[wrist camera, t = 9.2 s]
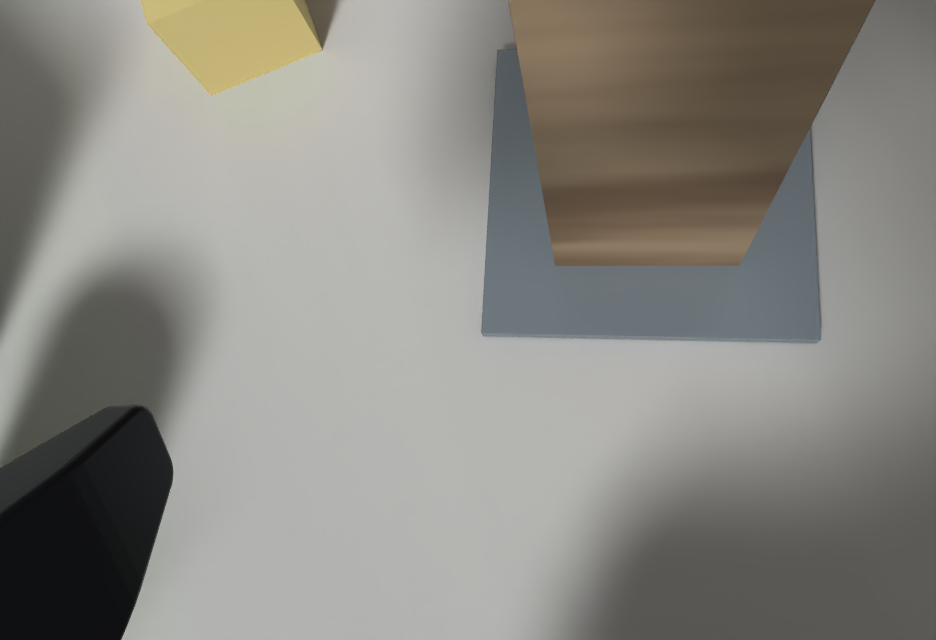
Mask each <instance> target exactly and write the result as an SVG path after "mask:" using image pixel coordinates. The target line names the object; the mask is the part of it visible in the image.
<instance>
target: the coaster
mask: <svg viewBox="0 0 936 640" xmlns="http://www.w3.org/2000/svg"><path fill="white" fill-rule="evenodd" d="M481 333H482V335H483V336H495V337H543V338H591V339H639V340H687V341H734V342H782V343H818V342H819V341H820V340H821V332H820V312H819V293H818V273H817V254H816V234H815V214H814V195H813V175H812V156H811V136H810V129H809V131H808V133H807V135H806V137H805V139H804V141H803V143H802V145H801V146H800V148H799V150H798V152H797V154H796V156H795V158H794V160H793V162H792V164H791V166H790V168H789V170H788V172H787V174H786V176H785V178H784V180H783V182H782V184H781V186H780V188H779V189H778V191H777V193H776V195H775V197H774V199H773V201H772V203H771V205H770V207H769V209H768V211H767V213H766V215H765V217H764V219H763V221H762V223H761V225H760V227H759V229H758V230H757V232H756V234H755V236H754V238H753V240H752V242H751V244H750V246H749V248H748V250H747V252H746V254H745V256H744V258H743V260H742V262H741V264H740V266H555V262H554V256H553V251H552V245H551V239H550V234H549V228H548V222H547V217H546V211H545V205H544V200H543V194H542V188H541V183H540V177H539V171H538V165H537V160H536V154H535V148H534V143H533V137H532V131H531V126H530V120H529V114H528V109H527V103H526V97H525V92H524V86H523V80H522V75H521V69H520V63H519V58H518V52H517V49H511V50H497V67H496V85H495V102H494V120H493V137H492V155H491V172H490V190H489V207H488V225H487V242H486V260H485V277H484V295H483V312H482V330H481Z"/></svg>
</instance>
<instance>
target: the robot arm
mask: <svg viewBox="0 0 936 640" xmlns="http://www.w3.org/2000/svg"><path fill="white" fill-rule="evenodd" d="M172 481H173V465H172V461H171V458H170V455H169V453H168V451H167V448H166V446H165V443H164V441H163V439H162V436H161V434H160V432H159V429H158V427H157V424H156V422H155V420H154V417H153V415H152V413H151V412H150V411H149V410H148V408H146V407H145V406H142V405H139V404H137V405H122V406H111V407H107V408H104V409H102V410H101V411H99V412H97V413H95V414H94V415H92V416H90V417H89V418H87V419H85V420H83V421H82V422H80V423H78V424H76V425H75V426H73V427H71V428H69V429H68V430H66V431H64V432H62V433H61V434H59V435H57V436H55V437H54V438H52V439H50V440H49V441H47V442H45V443H43V444H42V445H40V446H38V447H36V448H35V449H33V450H31V451H29V452H28V453H26V454H24V455H22V456H21V457H19V458H17V459H15V460H14V461H12V462H10V463H9V464H7V465H5V466H3V467H2V468H0V640H121V639H122V637H123V634H124V632H125V630H126V627H127V625H128V622H129V620H130V617H131V614H132V612H133V609H134V607H135V604H136V601H137V598H138V595H139V592H140V589H141V586H142V583H143V580H144V576H145V573H146V570H147V566H148V563H149V560H150V556H151V553H152V550H153V546H154V543H155V539H156V536H157V533H158V529H159V526H160V523H161V519H162V516H163V513H164V509H165V506H166V502H167V499H168V496H169V492H170V489H171V486H172Z"/></svg>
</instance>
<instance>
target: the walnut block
mask: <svg viewBox="0 0 936 640" xmlns="http://www.w3.org/2000/svg"><path fill="white" fill-rule="evenodd" d="M508 1H509V6H510V12H511V18H512V23H513V29H514V35H515V41H516V46H517V52H518V58H519V63H520V69H521V75H522V80H523V86H524V92H525V97H526V103H527V109H528V114H529V120H530V126H531V131H532V137H533V143H534V148H535V154H536V160H537V165H538V171H539V177H540V183H541V188H542V194H543V200H544V205H545V211H546V217H547V222H548V228H549V234H550V239H551V245H552V251H553V256H554V262H555V266H740V264H741V262H742V260H743V258H744V256H745V254H746V252H747V250H748V248H749V246H750V244H751V242H752V240H753V238H754V236H755V234H756V232H757V230H758V229H759V227H760V225H761V223H762V221H763V219H764V217H765V215H766V213H767V211H768V209H769V207H770V205H771V203H772V201H773V199H774V197H775V195H776V193H777V191H778V189H779V188H780V186H781V184H782V182H783V180H784V178H785V176H786V174H787V172H788V170H789V168H790V166H791V164H792V162H793V160H794V158H795V156H796V154H797V152H798V150H799V148H800V146H801V145H802V143H803V141H804V139H805V137H806V135H807V133H808V131H809V129H810V127H811V125H812V123H813V121H814V119H815V117H816V115H817V113H818V111H819V109H820V107H821V105H822V104H823V102H824V100H825V98H826V96H827V94H828V92H829V90H830V88H831V86H832V84H833V82H834V80H835V78H836V76H837V74H838V72H839V70H840V68H841V66H842V64H843V63H844V61H845V59H846V57H847V55H848V53H849V51H850V49H851V47H852V45H853V43H854V41H855V39H856V37H857V35H858V33H859V31H860V29H861V27H862V25H863V23H864V22H865V20H866V18H867V16H868V14H869V12H870V10H871V8H872V6H873V4H874V2H875V0H508Z"/></svg>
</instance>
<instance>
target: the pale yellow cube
mask: <svg viewBox="0 0 936 640" xmlns="http://www.w3.org/2000/svg"><path fill="white" fill-rule="evenodd" d="M141 3H142V7H143V11H144V15H145V18H146V22H147V25H148V26H149V27H150V28H151V29H152V30H153V31H154V32H155V34H156V35H157V36H158V37H159V38H160V39H161V40H162V41H163V42H164V44H165V45H166V46H167V47H168V48H169V49H170V50H171V51H172V52H173V54H174V55H175V56H176V57H177V58H178V59H179V60H180V61H181V63H182V64H183V65H184V66H185V67H186V68H187V69H188V70H189V71H190V73H191V74H192V75H193V76H194V77H195V78H196V79H197V80H198V81H199V83H200V84H201V85H202V86H203V87H204V88H205V89H206V90H207V92H208V93H209V94H210V95H211V96H212V95H215V94H217V93H220V92H222V91H224V90H227V89H229V88H232V87H234V86H237V85H239V84H241V83H244V82H246V81H249V80H251V79H254V78H256V77H258V76H261V75H263V74H266V73H268V72H271V71H273V70H275V69H278V68H280V67H283V66H285V65H288V64H290V63H292V62H295V61H297V60H300V59H302V58H305V57H307V56H309V55H312V54H314V53H317V52H319V51H321V50H322V47H321V44H320V42H319V39H318V36H317V33H316V30H315V27H314V24H313V21H312V18H311V15H310V12H309V9H308V6H307V4H306V1H305V0H141Z"/></svg>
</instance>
